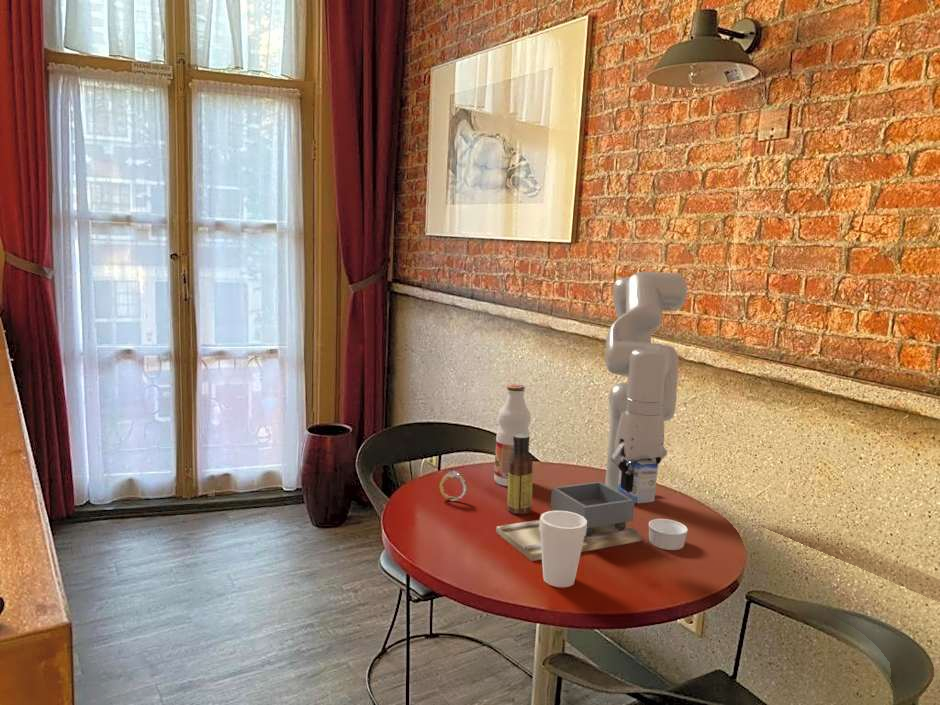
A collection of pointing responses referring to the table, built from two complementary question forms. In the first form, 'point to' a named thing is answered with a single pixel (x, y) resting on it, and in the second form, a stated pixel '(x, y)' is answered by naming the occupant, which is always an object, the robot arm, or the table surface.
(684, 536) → the ramekin
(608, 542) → the track board
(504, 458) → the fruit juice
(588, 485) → the grey storage bin
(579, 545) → the foam cup
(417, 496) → the table surface
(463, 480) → the bracelet
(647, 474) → the medicine box
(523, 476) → the sauce bottle
